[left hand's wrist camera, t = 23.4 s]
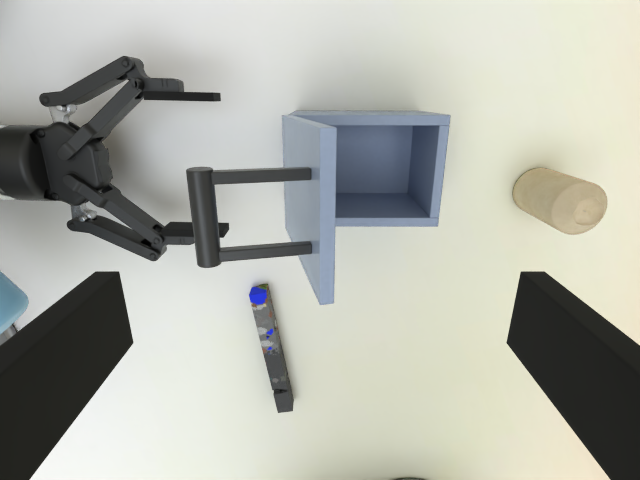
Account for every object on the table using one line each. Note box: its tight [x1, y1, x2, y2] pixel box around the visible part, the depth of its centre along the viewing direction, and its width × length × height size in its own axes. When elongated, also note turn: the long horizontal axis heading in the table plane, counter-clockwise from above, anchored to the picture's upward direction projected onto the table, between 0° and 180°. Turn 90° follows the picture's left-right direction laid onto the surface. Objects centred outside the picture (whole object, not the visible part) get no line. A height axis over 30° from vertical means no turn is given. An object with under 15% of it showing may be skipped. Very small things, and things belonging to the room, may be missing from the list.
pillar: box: [249, 284, 294, 413], centre depth 54 cm, size 2×2×20 cm
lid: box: [186, 115, 337, 305], centre depth 27 cm, size 15×10×8 cm
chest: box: [289, 111, 450, 226], centre depth 40 cm, size 14×10×11 cm
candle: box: [513, 168, 607, 235], centre depth 42 cm, size 6×6×10 cm
